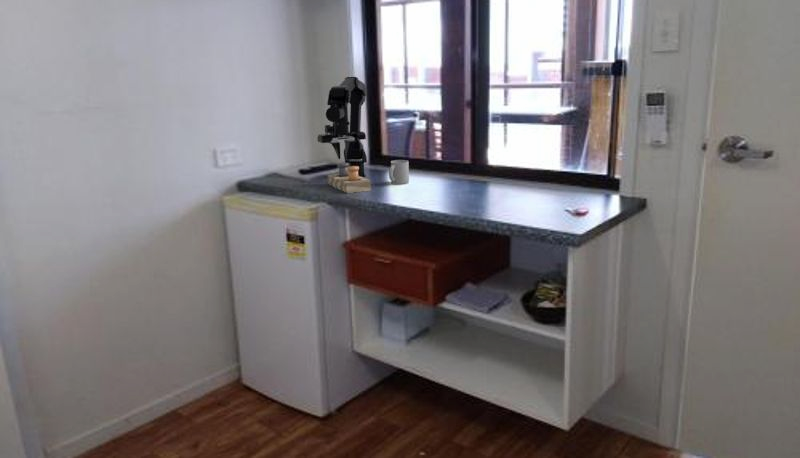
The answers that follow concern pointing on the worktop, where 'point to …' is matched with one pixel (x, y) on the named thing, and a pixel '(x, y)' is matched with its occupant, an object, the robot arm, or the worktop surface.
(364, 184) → the housing
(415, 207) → the worktop surface
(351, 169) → the mushroom knob terracotta
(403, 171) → the cup
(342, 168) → the grey mushroom knob
